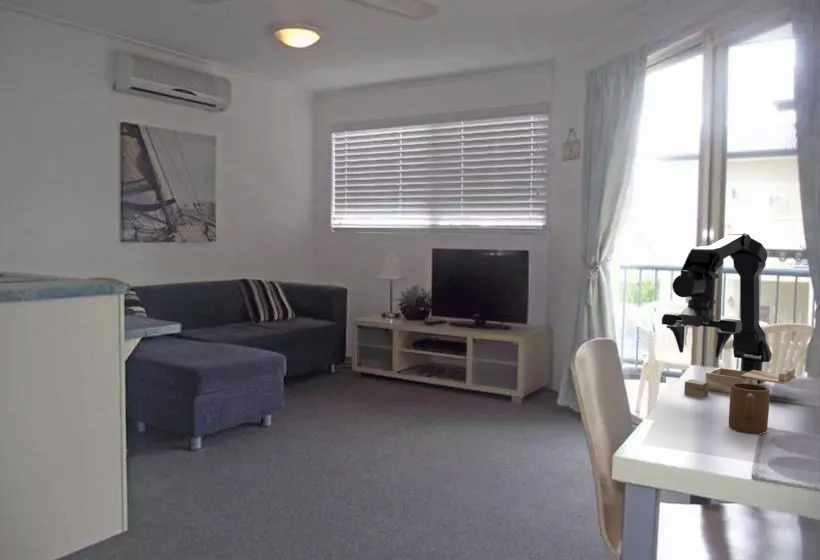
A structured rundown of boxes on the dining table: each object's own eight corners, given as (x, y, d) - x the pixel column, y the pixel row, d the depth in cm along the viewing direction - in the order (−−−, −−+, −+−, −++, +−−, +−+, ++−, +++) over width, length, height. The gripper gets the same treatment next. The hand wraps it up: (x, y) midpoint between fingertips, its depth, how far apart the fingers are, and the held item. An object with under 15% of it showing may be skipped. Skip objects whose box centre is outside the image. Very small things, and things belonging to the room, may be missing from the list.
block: (690, 392, 181) (691, 379, 181) (707, 395, 178) (708, 382, 178) (684, 394, 178) (685, 381, 178) (701, 397, 175) (702, 384, 175)
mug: (768, 442, 137) (771, 397, 137) (727, 436, 141) (730, 392, 140) (766, 428, 148) (769, 385, 147) (728, 422, 151) (731, 381, 151)
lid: (753, 371, 186) (753, 362, 186) (795, 377, 179) (796, 368, 179) (740, 377, 178) (740, 367, 178) (784, 384, 171) (784, 374, 171)
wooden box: (718, 383, 192) (719, 367, 192) (756, 389, 185) (757, 373, 185) (704, 389, 184) (705, 372, 184) (744, 396, 177) (745, 379, 177)
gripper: (654, 294, 176) (651, 353, 178) (730, 301, 164) (726, 364, 165) (671, 292, 185) (668, 348, 186) (744, 298, 172) (740, 358, 173)
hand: (698, 355), depth 177 cm, fingers open, 9 cm apart
